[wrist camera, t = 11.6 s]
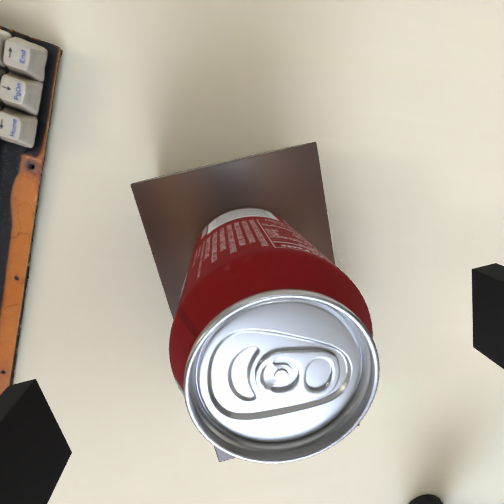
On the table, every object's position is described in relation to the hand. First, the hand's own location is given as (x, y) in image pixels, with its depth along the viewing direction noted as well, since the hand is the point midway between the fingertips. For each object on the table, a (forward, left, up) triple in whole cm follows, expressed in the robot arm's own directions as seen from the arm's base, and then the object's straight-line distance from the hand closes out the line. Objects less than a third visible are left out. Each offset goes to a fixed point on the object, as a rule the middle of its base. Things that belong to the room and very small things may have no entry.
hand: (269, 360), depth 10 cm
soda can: (0, 0, -11) cm, 11 cm away
